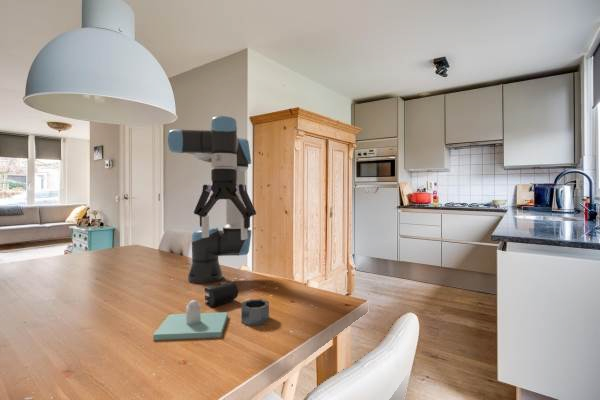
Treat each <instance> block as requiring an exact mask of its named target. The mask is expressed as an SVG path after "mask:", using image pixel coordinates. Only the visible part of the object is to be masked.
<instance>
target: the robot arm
mask: <svg viewBox="0 0 600 400" xmlns="http://www.w3.org/2000/svg"><path fill="white" fill-rule="evenodd" d="M210 124H211V125H210V126H211V127H210V130H208V129H207V130H206V129H202V130H197V129H196V130H195V129H181V128H179V129H171V130H169V132H168V134H167V146H168V149H169V151H170V152H171V153H176V154H177V153H178V154H189V155H192V156H194V157H195V158H196V159H197V160H200V161H203V162H206V163H207V162H208V163H210V164H211V168H213V169H211V172H210V173H211V174H210V175H211V180H210V181H211V185H210V184H203V185H202V191H201V194H200V196H199V199H198V201H197V203H196V206H195V209H194V210H193V214H194V215H197V216H199V227H200V229H196V230H194V231H193V232H192V233H191V240H190V241H191V265H190V269H189V272H188V273H187V274H188V275H187V280H188V282H190V283H193V284H209V283H215V282H218V281H220V280H222V279H223V270H222V268H221V264H220V261H219V257H223V256H224V257H227V256H229V257H230V256H233V257H234V256H238V257H239V256H246V255H248V254H249V252H250V245H251V240H252V239H251V238H252V230H251V229H250V228H251V217H253V216H255V215H257V211H256V209H255V207H254V204H253V203H252V200H251V198H250V196H249V194H248V192H247V191H248V190H247V185H246V171H247V170H248V169H249V165H251V164H252V157H251V151H250V144H249V140H248V139H246V138H241V137H238V131H237V130H238V127H237V124H238V123H237V120H236V119H235V118H234V117H232V116H226V115H225V116H224V115H220V116H219V115H218V116H214V117H212V118H211V123H210ZM211 192H212V193H211ZM210 194H211V195H210ZM219 200H225V204H226V205H225V208H226V209H225V212H226V213H225V217H226V219H225V222H226V223H225V224H224V225H223V226H222V230H220V229H219V228H218V226H217V227H216V226H215V227H210V216H209V215H208V214H209V213H210V211H211V210H212V209H213V207H214V205H216V203H217V201H219Z"/></svg>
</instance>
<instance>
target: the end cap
mask: <svg viewBox="0 0 600 400" xmlns="http://www.w3.org/2000/svg"><path fill="white" fill-rule="evenodd" d="M204 292H205V293H206V294H208V295H204V300H205V301H206V302H204V303H205V305H206V306H208V307H210V308H213V307H216V306H220V305H223V304H225V303H226V304H227V303H229V302H232V301H235V299H237V297H238V296H239V288H238V286H237V284H236V283H235V282H234V281H233V282H229V283H228V282H226V281H223V282H220V283H219V284H218V286H216V285H207V286H205V288H204Z"/></svg>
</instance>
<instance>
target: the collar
mask: <svg viewBox="0 0 600 400" xmlns="http://www.w3.org/2000/svg"><path fill="white" fill-rule="evenodd" d="M240 312H241V316H240V317H241V320H240V321H241V323H242V324H244V325H247V326H249V327H250V326H263V325H265V324H266V323H269V322H270V301H268V300H265V299H263V298H255V299H249V300H245V301H243V302H242V303H241V311H240Z"/></svg>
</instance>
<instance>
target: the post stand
mask: <svg viewBox="0 0 600 400" xmlns="http://www.w3.org/2000/svg"><path fill="white" fill-rule="evenodd" d="M201 305H202V304H200V303H199V301H197V300H195V299H193V300H190V301H189V303H188V304H187V305H186V306H185V307H186V309H185V313H171V314H169V315H167V317H166V318H165V319H164V321H163V322H162V323H161V324H160V326H159V327H158V328H157V329H156V330H155V332H154V333H153V334H152V338H153V341H160V340H161V341H162V340H164V341H165V340H184V339H185V340H187V339H206V338H207V339H208V338H209V339H211V338H222V335H223V331H224V329H225V326H226V323H227V320H228V317H229V315H228V314H229V313H228V311H224V312H223V311H222V312H201V311H202V310H201V308H202V307H201Z"/></svg>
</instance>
